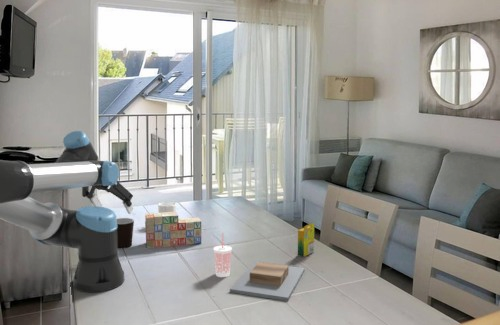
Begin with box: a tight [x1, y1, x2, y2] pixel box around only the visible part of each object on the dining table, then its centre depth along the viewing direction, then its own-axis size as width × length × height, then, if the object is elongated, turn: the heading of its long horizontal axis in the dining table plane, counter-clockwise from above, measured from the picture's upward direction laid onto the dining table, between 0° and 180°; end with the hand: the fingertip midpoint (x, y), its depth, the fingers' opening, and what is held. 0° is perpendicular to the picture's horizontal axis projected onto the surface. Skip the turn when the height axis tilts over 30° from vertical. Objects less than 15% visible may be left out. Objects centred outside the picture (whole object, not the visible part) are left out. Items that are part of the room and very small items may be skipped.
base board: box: [229, 261, 305, 302], centre depth 146 cm, size 24×18×1 cm
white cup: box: [157, 201, 177, 213], centre depth 205 cm, size 8×8×10 cm
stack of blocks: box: [144, 211, 202, 249], centre depth 181 cm, size 21×6×12 cm, turn 106°
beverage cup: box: [213, 232, 233, 278], centre depth 150 cm, size 6×6×14 cm
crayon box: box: [297, 222, 315, 258], centre depth 171 cm, size 7×3×12 cm, turn 141°
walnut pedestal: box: [250, 261, 289, 286], centre depth 146 cm, size 10×10×4 cm
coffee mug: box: [116, 217, 135, 250], centre depth 179 cm, size 12×9×10 cm
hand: (115, 209), depth 173 cm, fingers open, 13 cm apart
